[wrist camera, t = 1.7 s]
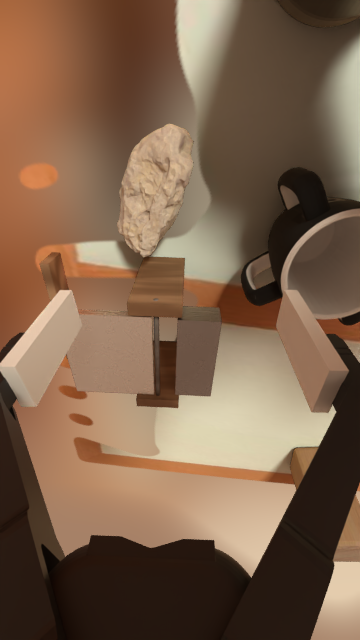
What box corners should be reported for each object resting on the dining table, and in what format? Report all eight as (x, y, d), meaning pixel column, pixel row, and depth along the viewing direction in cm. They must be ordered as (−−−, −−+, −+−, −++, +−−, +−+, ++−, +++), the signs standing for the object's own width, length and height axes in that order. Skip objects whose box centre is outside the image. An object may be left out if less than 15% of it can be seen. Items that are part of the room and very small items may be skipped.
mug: (396, 196, 34) (479, 224, 24) (316, 299, 43) (354, 349, 33) (282, 144, 31) (325, 151, 21) (223, 265, 40) (234, 309, 30)
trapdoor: (64, 299, 33) (54, 313, 30) (219, 306, 33) (221, 320, 30) (84, 375, 41) (77, 391, 38) (209, 381, 40) (210, 397, 38)
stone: (123, 193, 38) (99, 246, 33) (144, 98, 27) (113, 157, 23) (172, 216, 40) (156, 269, 35) (211, 135, 29) (195, 197, 24)
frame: (51, 252, 39) (1, 297, 29) (184, 258, 39) (182, 305, 29) (75, 343, 50) (44, 401, 39) (180, 348, 49) (178, 407, 39)
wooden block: (326, 465, 72) (366, 563, 56) (288, 466, 73) (316, 562, 57) (334, 444, 66) (381, 547, 50) (293, 446, 67) (325, 547, 51)
